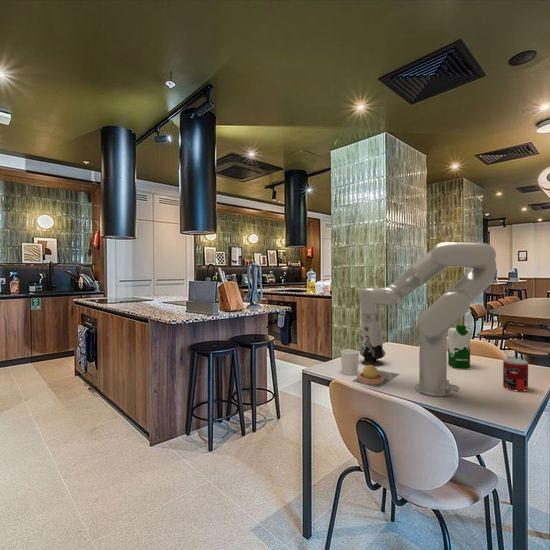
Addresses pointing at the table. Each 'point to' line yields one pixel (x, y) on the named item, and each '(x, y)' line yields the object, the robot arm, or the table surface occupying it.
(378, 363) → the apothecary jar
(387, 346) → the table surface
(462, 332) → the milk carton
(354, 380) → the mat
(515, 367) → the canned food
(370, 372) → the ball
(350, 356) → the white cup
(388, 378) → the white thin block
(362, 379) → the saucer
